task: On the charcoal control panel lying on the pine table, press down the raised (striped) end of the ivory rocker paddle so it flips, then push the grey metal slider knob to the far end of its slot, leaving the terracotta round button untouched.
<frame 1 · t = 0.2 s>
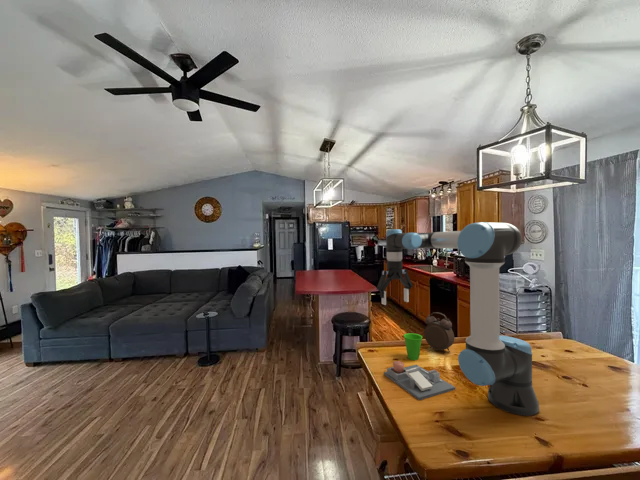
hand: (395, 303, 142), 28 cm above the table, fingers open, 13 cm apart
paddle: (418, 378, 114), point 4 cm above the table, hinge at -17.0°
alarm clock: (439, 350, 150), on the table
panel: (417, 381, 118), on the table
cup: (413, 358, 141), on the table
slider knob: (434, 375, 117), point 3 cm above the table, slide at 0.0 cm
round button: (398, 367, 122), point 4 cm above the table, slide at 0.0 cm
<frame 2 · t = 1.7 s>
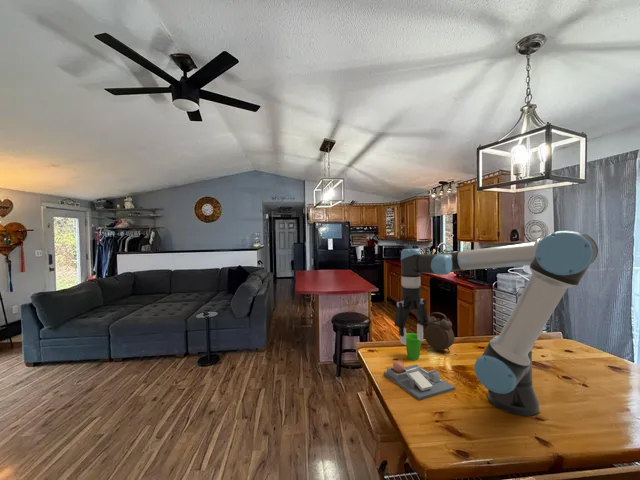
hand: (411, 341, 117), 17 cm above the table, fingers open, 8 cm apart
nothing on the table moved.
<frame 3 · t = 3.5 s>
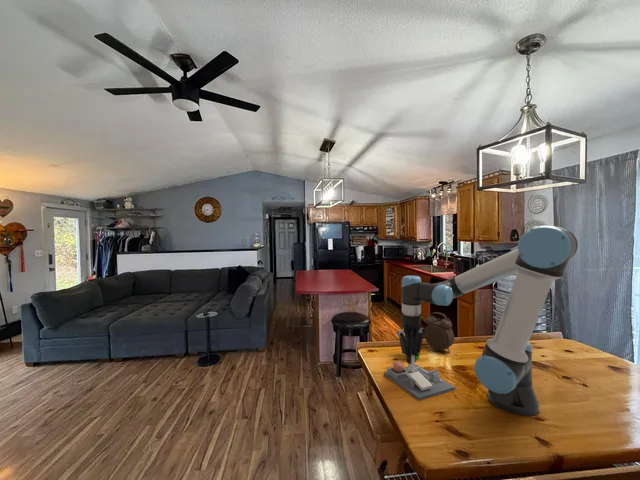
hand: (411, 370, 117), 5 cm above the table, fingers closed
paddle: (418, 378, 114), point 4 cm above the table, hinge at -14.7°, touching gripper
everything else where it was.
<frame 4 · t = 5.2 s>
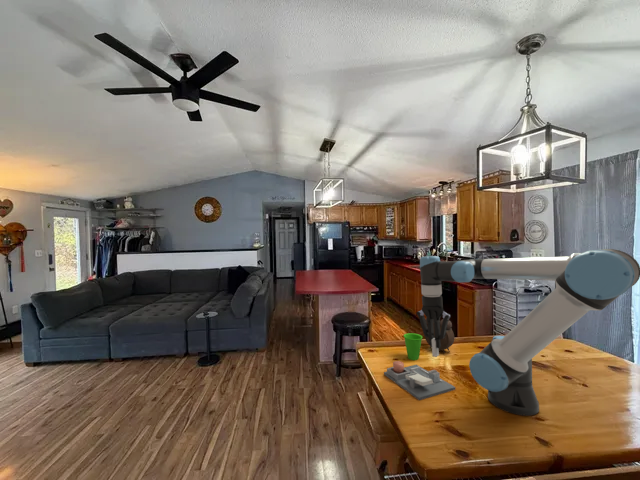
hand: (435, 355, 112), 14 cm above the table, fingers closed
paddle: (418, 378, 114), point 4 cm above the table, hinge at 8.2°
everything else where it was.
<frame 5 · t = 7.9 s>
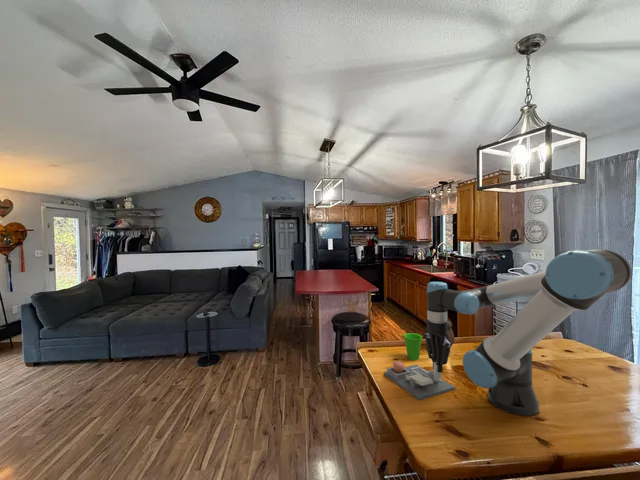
hand: (437, 378, 115), 3 cm above the table, fingers closed
paddle: (418, 378, 114), point 4 cm above the table, hinge at 9.3°
slider knob: (433, 375, 117), point 3 cm above the table, slide at 0.2 cm, touching gripper
everything else where it was.
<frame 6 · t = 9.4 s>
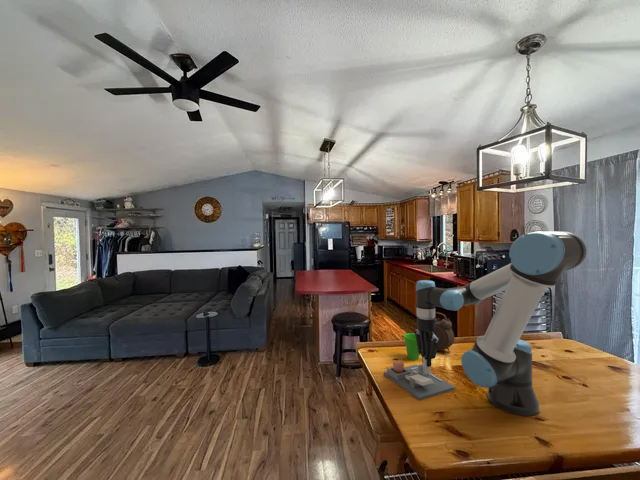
hand: (426, 372, 120), 3 cm above the table, fingers closed
slider knob: (423, 369, 122), point 3 cm above the table, slide at 6.2 cm, touching gripper
everything else where it was.
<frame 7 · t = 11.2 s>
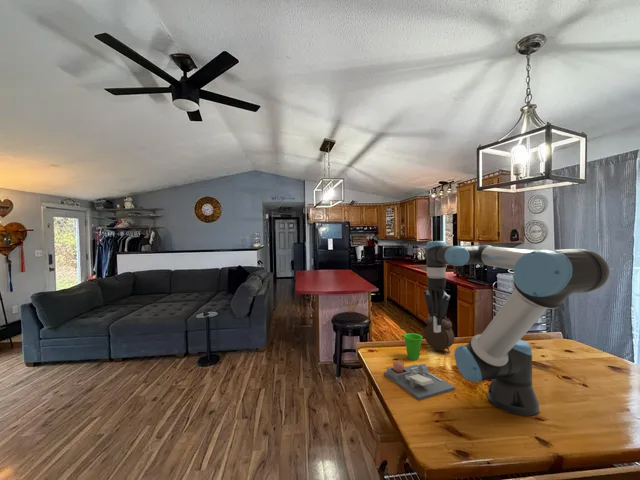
hand: (437, 331, 122), 19 cm above the table, fingers closed
slider knob: (423, 369, 122), point 3 cm above the table, slide at 6.2 cm
everything else where it was.
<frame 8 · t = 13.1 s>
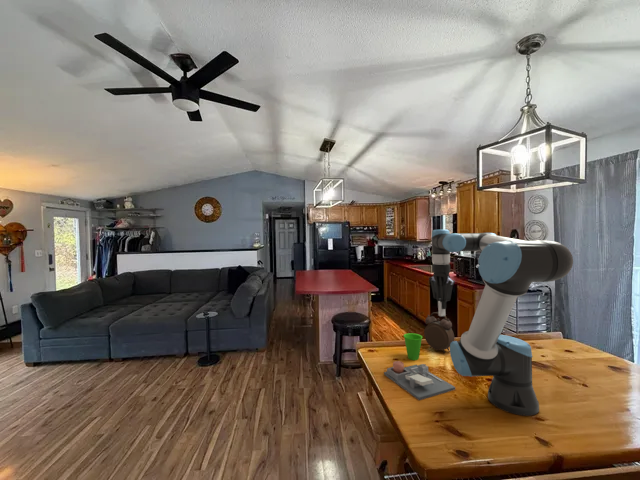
hand: (442, 315, 129), 24 cm above the table, fingers closed
nothing on the table moved.
at the end: paddle at +9° (first picture: -17°); slider knob slide at 6.2 cm; round button slide at 0.0 cm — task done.
